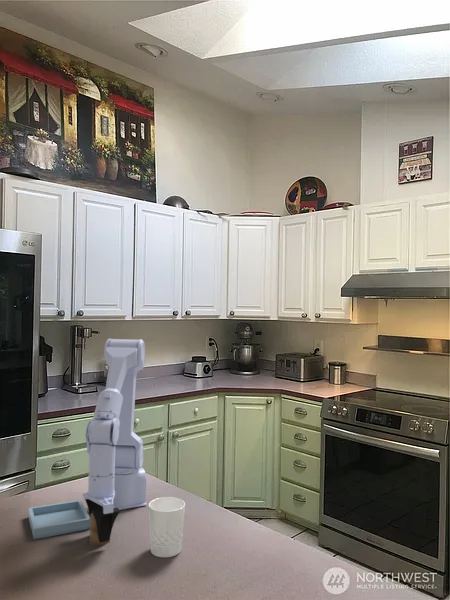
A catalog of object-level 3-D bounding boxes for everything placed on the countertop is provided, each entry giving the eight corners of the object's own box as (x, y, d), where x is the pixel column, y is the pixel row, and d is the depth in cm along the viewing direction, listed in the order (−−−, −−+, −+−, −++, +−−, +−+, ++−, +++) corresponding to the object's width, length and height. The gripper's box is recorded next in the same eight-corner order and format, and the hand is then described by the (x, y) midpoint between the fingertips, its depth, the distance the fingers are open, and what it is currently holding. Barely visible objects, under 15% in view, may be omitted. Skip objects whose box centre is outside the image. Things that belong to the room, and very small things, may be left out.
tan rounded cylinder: (107, 534, 112) (108, 508, 112) (112, 543, 108) (112, 516, 109) (87, 538, 110) (88, 511, 110) (92, 547, 106) (92, 519, 107)
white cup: (189, 545, 108) (190, 500, 109) (174, 562, 101) (175, 513, 101) (157, 538, 111) (158, 494, 111) (140, 555, 103) (142, 508, 104)
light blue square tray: (80, 508, 126) (80, 499, 126) (90, 528, 115) (90, 519, 115) (28, 517, 121) (28, 507, 121) (33, 539, 109) (33, 528, 109)
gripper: (77, 465, 114) (75, 523, 114) (90, 486, 101) (88, 551, 101) (107, 461, 117) (106, 518, 117) (123, 481, 105) (122, 545, 104)
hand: (100, 533), depth 109 cm, fingers open, 7 cm apart
